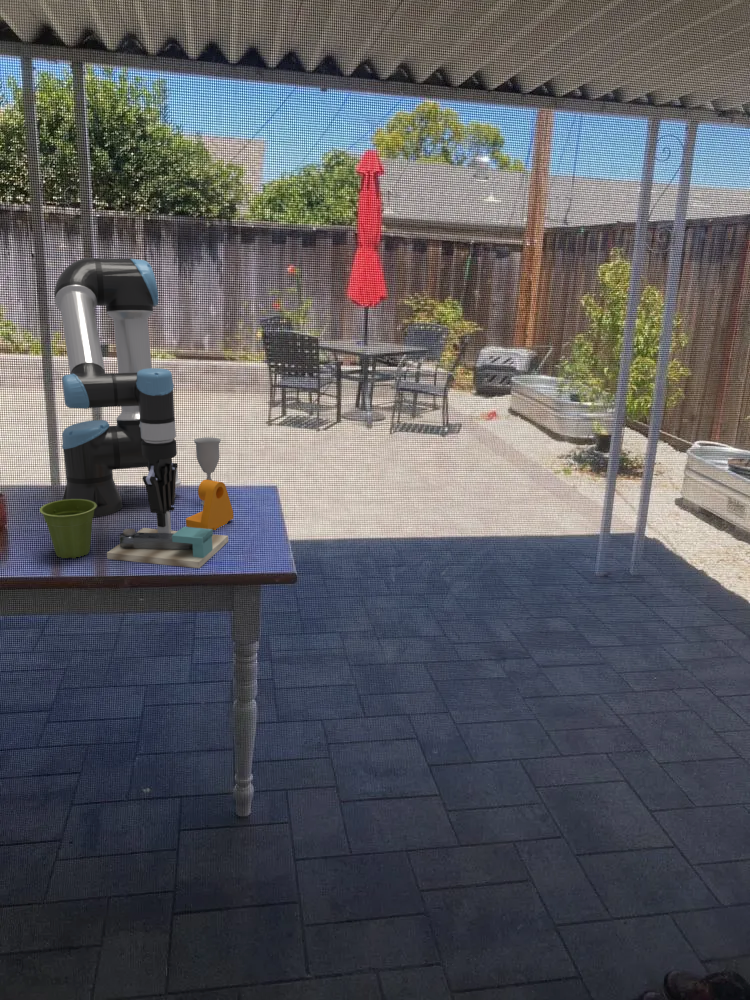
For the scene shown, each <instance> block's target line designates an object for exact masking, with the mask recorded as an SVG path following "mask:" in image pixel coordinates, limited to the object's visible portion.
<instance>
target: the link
mask: <svg viewBox="0 0 750 1000" xmlns="http://www.w3.org/2000/svg"><path fill="white" fill-rule="evenodd" d="M137 532H138V531H135V534H134V535H131V536H125V535H123V532H122V533H120V534H119V535H118V536H119V544H120V547H121V548H124V549H132V548H147V549H186V550H192V549H193V544H190V543H179V542H172V535H173V534H175V533H137Z"/></svg>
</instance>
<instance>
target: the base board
mask: <svg viewBox="0 0 750 1000" xmlns="http://www.w3.org/2000/svg"><path fill="white" fill-rule="evenodd" d="M177 531H178V530H173V529H171V533H176V532H177ZM135 532H137V533H158V528H148V527H142V528H141V529H140V530H138V531H136V529H135V528H126V529H123V530H122V533H123V535H125V536H131V535H134V534H135ZM227 543H229V535H224V534H223V535H222V534H214V533H213V536H212V548H213V550H212V551H211V552H210V553H209V554H207V555H206V556H205V557H204V558H201V557H193V549H192V550H186V549H147V548H132V549H124V548H121V547H120V543H119V544H117V545H116V546H114V547H113V548H112V549H110V550H109V551H107V552H106V557H107V560H115V561H122V562H123V561H126V562H135V563H144V564H154V565H164V566H172V567H173V566H174V567H183V568H192V569H200V568H202V566H204V565H205V564H206V563H207V562H208V561H209V560H210V559H211V558H213V556H214V555H216V553H218V552H219V551H220V550H221V549H222V548H223V547H225V545H226V544H227Z"/></svg>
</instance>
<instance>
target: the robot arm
mask: <svg viewBox="0 0 750 1000" xmlns="http://www.w3.org/2000/svg"><path fill="white" fill-rule="evenodd" d="M54 302H55V305H56V307H57V309H58V310H59V311H60V313H61V318H62V319H61V320H62V327H63V332H64V339H65V347H66V353H67V354H66V355H67V360H68V361H67V362H68V369H69V374H64V375H63V376H62V377H61V380H62V381H61V382H62V390H63V391H62V392H63V398H64V399H63V401H64V405H65V406H66V407H67V408H68V409H85V410H87V409H95V408H97V409H98V408H111V407H113V408H115V407H117V408H119V407H120V408H121V412H120V414H119V415H118V416H117V417H116V425H110V424H109V422H108V421H107V420H105V419H100V420H99V419H97V420H96V419H95V420H94V419H92V420H87V421H82V422H77V423H74V424H71V425H69V426H67V427H66V428H64V430H63V431H62V433H61V436H62V445H61V448H62V450H63V459H64V460H63V461H64V468H65V469H64V471H65V478H66V480H65V481H66V482H65V483H66V485H65V488H64V493H63V496H62V500H66V499H85V500H90V501H93V502H95V503H96V504H97V507H96V508H95V509H94V517H93V518H95V517H105V516H107V515H111V514H114V513H116V512H119V511H120V510H122V508H123V499H122V497H121V494H120V492H119V489H118V487H117V485H116V483H115V481H114V475H113V473H114V472H113V471H114V470H127V469H138V468H147V470H148V474H147V475H143V476H142V481H143V484H144V485H145V489H146V495H147V499H148V505H149V509H150V513H152V514H156V525H157V526H156V527H157V528H156V529H158V533H171V530H172V521H171V512H173V511H175V506H174V505H175V501H176V494H175V492H176V487H175V483H176V471H178V463H177V462H173V458H175V457H177V453H178V451H177V450H178V449H177V440H175V439H176V437H177V431H176V418H175V402H174V401H175V399H174V398H175V397H174V386H175V385H174V382H173V380H174V379H173V375H172V374H173V373H172V372H171V371H170V370H169V369H167V368H160V367H159V368H157V367H154V368H153V367H152V356H151V355H152V353H151V343H150V331H149V330H150V329H149V318H150V317H151V316H153V315H152V314H154V307H156V306H158V305H159V291H158V285H157V280H156V276H155V273H154V270H153V268H152V265H151V264H150V262H148V261H146V260H145V259H137V258H136V259H135V258H107V257H106V258H100V257H97V258H96V257H85V258H81V259H78V260H76V261H73V262H72V263H71V264H69V265H68V266H67V267H66V268H65V269H64V270H63V271H62V273H61V274H60V275H59V277H58V279H57V281H56V283H55V286H54ZM97 306H102V307H103V306H105V309H106V314H107V315H108V316H109V317H110V318H111V319H112V320H113V327H114V328H113V329H114V340H115V350H116V362H117V372H109V373H107V372H106V370H105V364H104V359H103V357H104V356H103V352H102V347H101V342H100V336H99V330H98V324H97V319H96V313H95V309H96V307H97Z"/></svg>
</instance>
